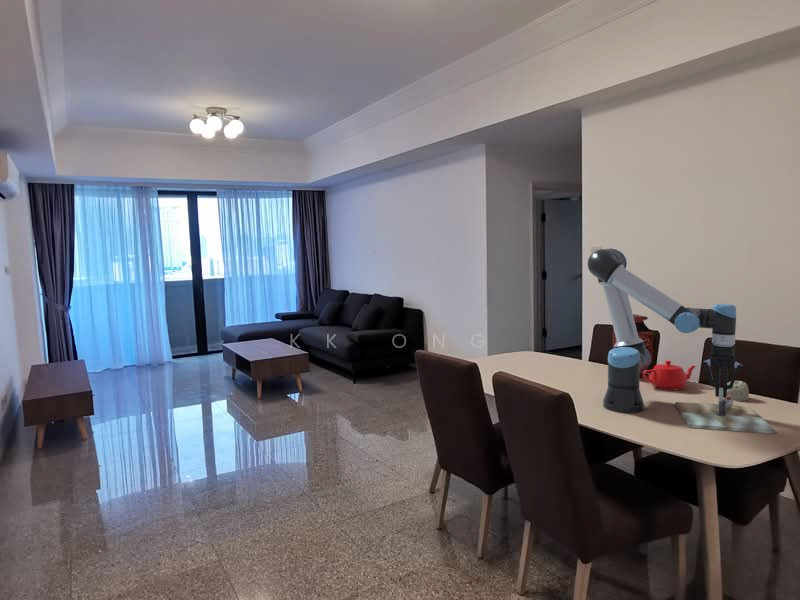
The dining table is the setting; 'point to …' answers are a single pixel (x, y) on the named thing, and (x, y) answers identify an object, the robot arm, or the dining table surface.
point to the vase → (642, 335)
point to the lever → (727, 403)
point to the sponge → (739, 391)
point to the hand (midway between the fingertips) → (720, 405)
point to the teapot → (668, 376)
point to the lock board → (723, 417)
